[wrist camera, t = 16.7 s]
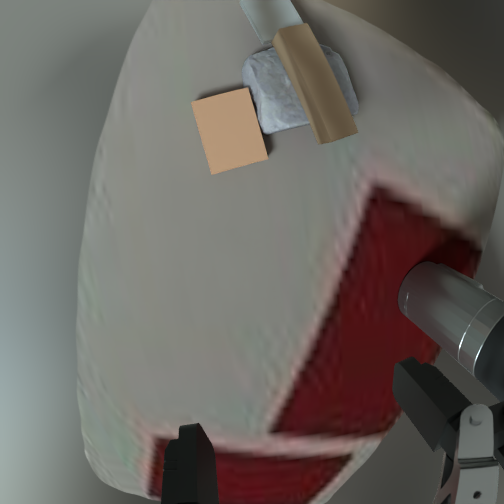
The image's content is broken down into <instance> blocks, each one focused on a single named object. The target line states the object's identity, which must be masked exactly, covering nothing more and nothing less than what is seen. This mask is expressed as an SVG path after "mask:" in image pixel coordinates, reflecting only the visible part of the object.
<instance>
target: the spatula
mask: <svg viewBox="0 0 504 504" xmlns="http://www.w3.org/2000/svg"><path fill="white" fill-rule="evenodd" d="M240 5H241V7H242V9H243V11H244V12H245V14H246V16H247V18H248V19H249V21H250V23H251V25H252V26H253V28H254V30H255V32H256V34H257V36H258V38H259V39H260V41H261V43H262V45H264V44H268V43H272V45H273V47H274V49H275V51H276V52H277V54H278V56H279V58H280V60H281V62H282V64H283V66H284V68H285V70H286V72H287V75H288V77H289V79H290V81H291V83H292V85H293V87H294V89H295V91H296V94H297V96H298V98H299V100H300V102H301V105H302V107H303V109H304V111H305V114H306V116H307V118H308V121H309V123H310V125H311V128H312V130H313V132H314V135H315V137H316V140H317V142H318V144H324V143H329V142H333V141H336V140H339V139H341V138H344V137H347V136H350V135H353V134H356V133H358V130H357V127H356V125H355V122H354V120H353V117H352V115H351V112H350V110H349V107H348V105H347V103H346V100H345V98H344V96H343V93H342V91H341V89H340V87H339V84H338V82H337V80H336V78H335V76H334V74H333V72H332V69H331V67H330V65H329V63H328V61H327V59H326V57H325V55H324V53H323V51H322V49H321V47H320V46H319V44H318V42H317V40H316V38H315V36H314V34H313V32H312V31H311V29H310V27H309V25H308V24H307V23H303V21H302V19H301V18H300V16H299V14H298V13H297V11H296V9H295V8H294V6H293V4H292V3H291V1H290V0H240Z"/></svg>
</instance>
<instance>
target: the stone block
mask: <svg viewBox="0 0 504 504" xmlns="http://www.w3.org/2000/svg"><path fill="white" fill-rule="evenodd" d="M319 46H320V47H321V49H322V51H323V53H324V55H325V57H326V59H327V61H328V63H329V65H330V67H331V69H332V72H333V74H334V76H335V78H336V80H337V82H338V84H339V87H340V89H341V91H342V93H343V96H344V98H345V100H346V103H347V105H348V107H349V110H350V112H351V115H352V116H353V115H355V114H357V113H358V108H359V105H358V100H357V98H356V94H355V92H354V90H353V87H352V84H351V80H350V78H349V74H348V71H347V69H346V67H345V65H344V63H343V60H342V59H341V57H340V55H339V54H338V53H336V52H333V51H332V49H331V48H330V47H327V46H325V45H322V44H319ZM242 77H243V87H244V88H248V90H249V93H250V96H251V100H252V103H253V106H254V110H255V113H256V117H257V120H258V124H259V127H260V130H261V131H262V133H264V134H266V135H268V134H272V133H276V132H280V131H283V130H287V129H292V128H296V127H300V126H305V125H309V124H310V123H309V121H308V118H307V116H306V114H305V111H304V109H303V107H302V105H301V102H300V100H299V98H298V96H297V94H296V91H295V89H294V87H293V85H292V83H291V81H290V79H289V77H288V75H287V72H286V70H285V68H284V66H283V64H282V62H281V60H280V58H279V56H278V54H277V52H276V51H275V49H274V47H273V48H270V49H268V50H267V51H265V50H263V51H262V52H259V53H256V54H253V55H250V56H249V57H248V58H247V59H246V61H245V62H244V65H243V68H242Z"/></svg>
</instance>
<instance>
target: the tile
mask: <svg viewBox="0 0 504 504" xmlns="http://www.w3.org/2000/svg"><path fill="white" fill-rule="evenodd" d="M191 105H192V108H193V112H194V115H195V119H196V122H197V126H198V129H199V133H200V136H201V140H202V143H203V146H204V150H205V153H206V157H207V160H208V164H209V167H210V170H211V174H212V175H213V174H217V173H220V172H223V171H227V170H230V169H234V168H237V167H241V166H244V165H248V164H252V163H255V162H259V161H263V160H267V159H268V156H267V152H266V149H265V145H264V141H263V138H262V134H261V131H260V127H259V124H258V120H257V117H256V113H255V110H254V106H253V103H252V100H251V96H250V93H249V90H248V88H243V89H239V90H235V91H230V92H226V93H222V94H219V95H215V96H211V97H207V98H204V99H200V100H197V101H193V102H191Z"/></svg>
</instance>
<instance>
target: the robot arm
mask: <svg viewBox="0 0 504 504" xmlns="http://www.w3.org/2000/svg"><path fill="white" fill-rule="evenodd" d="M398 305H399V308H400V311H401V312H402V313H403V314H404V315H405V316H406V317H407V318H409V319H410V320H411V321H412V322H413V323H414V324H416V325H417V326H418V327H419V328H420V329H421V330H423V331H424V332H425V333H426V334H427V335H428V336H429V337H431V338H432V339H433V340H434V341H435V342H436V343H438V344H439V345H440V346H441V347H442V348H443V349H444V350H446V351H447V352H448V353H449V354H450V355H451V356H452V357H453V358H454V359H456V360H457V361H458V362H459V363H460V364H461V365H462V366H463V367H465V368H466V369H467V370H468V371H469V372H470V373H471V374H472V375H473V376H474V377H475V378H476V379H478V380H479V381H480V382H481V383H482V384H483V385H484V386H485V387H486V388H487V389H488V390H489V391H490V392H491V393H492V394H493V395H494V396H495V397H496V398H497V399H498V400H499V401H500V402H501V403H498V404H496V405H493V406H490V407H486V406H485V405H482V404H472V403H471V402H470V401H469V400H468V399H467V398H466V397H465V396H464V395H463V394H462V393H461V392H460V391H459V390H458V389H457V388H456V387H455V386H454V385H453V384H452V383H451V382H449V380H448V379H447V378H446V377H445V376H443V374H442V373H441V372H440V371H439V370H438V369H437V368H436V367H434V366H432V365H430V364H428V363H426V362H425V363H424V364H422V365H421V364H420V363H419V362H418V361H417V360H416V359H415V358H414V357H409V358H407V359H405V360H403V361H400V362H398V363H396V364H395V367H394V378H393V394H394V397H395V399H396V401H397V402H398V404H399V405H400V406H401V408H402V409H403V411H404V412H405V413H406V415H407V416H408V417H409V418H410V420H411V421H412V423H413V424H414V426H415V427H416V428H417V430H418V431H419V432H420V434H421V435H422V437H423V438H424V439H425V441H426V442H427V444H428V445H429V446H430V447H431V449H432V451H433V452H435V451H436V450H438V449H440V448H441V447H442V448H443V449H444V451H445V453H444V456H443V463H442V469H441V476H440V480H439V486H438V490H437V494H436V496H435V499H434V501H433V504H496V499H497V489H498V476H499V463H500V465H501V466H502V468H503V469H504V301H502V300H500V299H498V298H497V297H495V296H493V295H492V294H490V293H488V292H487V291H485V290H483V286H482V285H481V284H480V283H478V282H476V281H474V280H473V279H471V278H469V277H467V276H465V275H463V274H461V273H459V272H458V271H456V270H454V269H452V268H450V267H448V266H446V265H444V264H442V263H440V264H435V263H433V262H429V261H427V262H422V263H420V264H418V265H416V266H415V267H414V268H413V269H412V270H411V271H410V272H409V273H408V274H407V276H406V277H405V279H404V280H403V282H402V285H401V287H400V290H399V294H398ZM493 455H494V456H495V458H496V459H497V460H494V458H493ZM498 462H499V463H498ZM163 470H164V472H163V481H162V498H161V504H219V497H218V486H217V473H216V460H215V452H214V448H213V446H212V443H211V442H210V440H209V438H208V437H207V435H206V433H205V432H204V430H203V428H202V427H201V425H200V424H199V423H196V424H190V425H183V426H180V427H179V438H178V439H174V440H170V442H169V444H168V446H167V447H166V449H165V455H164V467H163Z"/></svg>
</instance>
